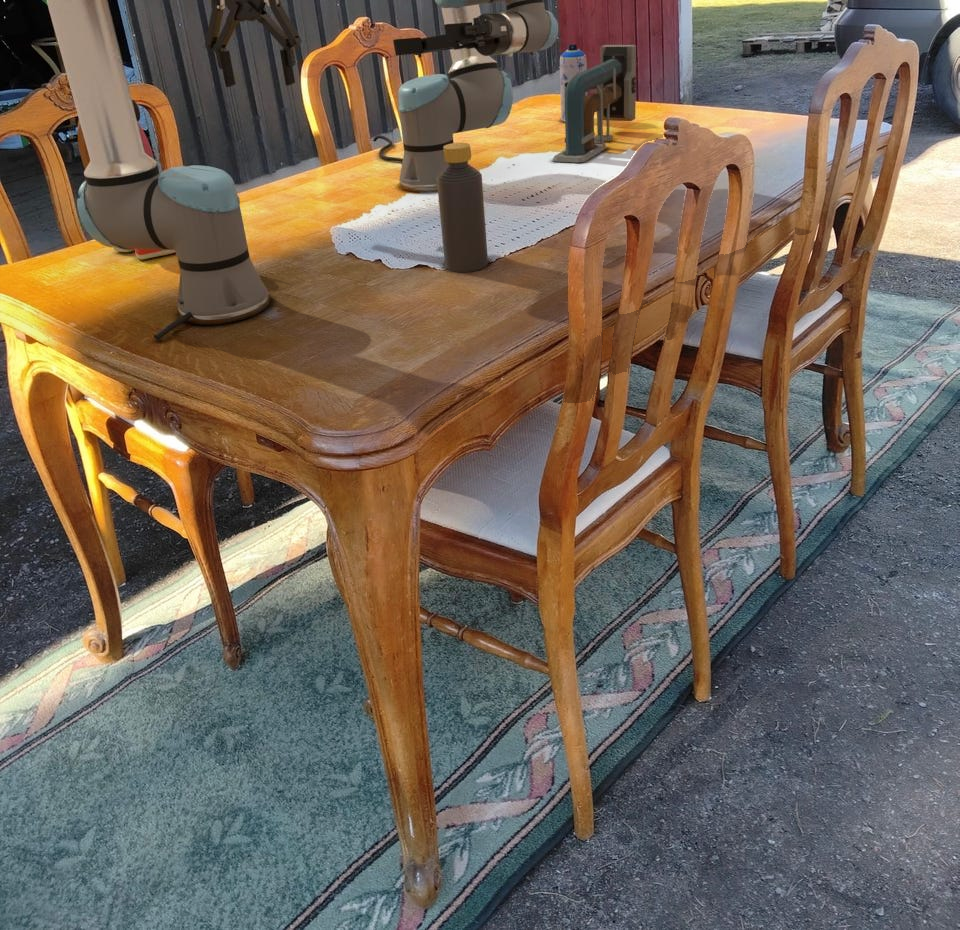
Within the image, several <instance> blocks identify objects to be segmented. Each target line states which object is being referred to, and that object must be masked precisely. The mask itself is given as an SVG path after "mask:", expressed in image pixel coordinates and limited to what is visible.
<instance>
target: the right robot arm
mask: <svg viewBox="0 0 960 930" xmlns="http://www.w3.org/2000/svg"><path fill="white" fill-rule="evenodd" d="M434 2H435V4H436V5H437V6H438V7H439V8H440V10H441V13H442V18H443V19H442V20H443V26H444V27H443V28H444V32H445V33H444V34H439V35H434V36H428V37H423V38H421V37H420V36H419V37H407V38H396V39H393V40H392V42H393V48H394V53H395V56H397V57H398V56H405V55H407V56H408V55H414V56H417V57H418V58H422V57H423V54H429V53H435V52H436V53H437V52H443V51H449V52H450V53H449V54H450V58H451V63H452V64H451V66H450V68H449V70H448V71H447V75H446V74H445V73H444V74H443V73H435V74H429V75H423V76H418V77H416V78H413V79H410V80H407V81H406V82H403V83H402V84H401V86H400V87H399V88H398V91H397V97H398V105H397V106H398V107H397V108H398V112H399V120H400V129H401V136H402V137H401V138H402V145H403V158H402V157H394V156H387V155H383V153H384V151H386V150H387V149H389V148H391V147H392V146H393V144H394V143H393V141H392V139H390V138H388V137H386V136H385V135H381V134H378V135H375V136H374V137H373V140H372V141H373V142H377V141H378V140H379V139H380V140H384V141H385V142H386V143H388V144H386V145H384V146H382V147H381V148H380V150H379V152H378V156H379V158H380V159H382V160H385V161H389V162H390V161H391V162H400V163H401V168H400V173H399V180H398V181H399V187H400V189H402V190H405V191H407V192H413V193H430V192H431V193H432V192H438V188H437V177H438V175H439V174H440V173H441V172H442V171H443V170H444V169H445V168H446V167H447V166H448V162H445V161H444V151H443V147H444V146H445V145H447V144H452V143H454V134H459V133H464V132H470V131H475V130H481V129H490V128H492V127H496V126H499V125H502V124H503V123H505V122H506V121H507V119H508V118H509V117H510V114H511V110H512V108H513V103H514V93H513V85H512V81H511V78H510V77H509V75H508V74H507V72H505V71H503V70H499V67H498V62H497V60H495V59H493V58H492V56H500V55H507V56H508V57H509V58H511V57H513V55H514V54H517V53H518V54H521V53H535V52H538V51H543V50H544V51H545V50H547V49H549V48H550V47H552V46H553V45H554V44H555V43H556V40H557V38H558V35H559V23H558V20H557V18H556V16H555V15H554V14H553V13H552V12H551V11H550V10H546V8H545V7H546V6H545V2H544V0H434ZM499 2H504V3H505V9H506V11H502V12H501V11H500V12H491V13H489V12H488V13H482V14H481V9H480V5H483V4H492V3H499Z"/></svg>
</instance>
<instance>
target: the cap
mask: <svg viewBox="0 0 960 930" xmlns="http://www.w3.org/2000/svg"><path fill="white" fill-rule="evenodd" d="M471 149H472V148H471V144H470V143H468V142H453V143H452V144H447V145H445V146H444V147H443V151H444V161H445V162H448V163H461V162H466V161H468V162H469V161H471V159H472V152H471V151H472V150H471Z"/></svg>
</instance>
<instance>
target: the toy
mask: <svg viewBox="0 0 960 930" xmlns="http://www.w3.org/2000/svg"><path fill="white" fill-rule="evenodd" d="M132 103H133V107H134V111H135V115H136V119H137V123H138V127H139V131H140V135H141V139H142V143H143V147H144V151H145V153H146V154H147V155H148V156H150V157H151V158H153V159H154V160H155V157H154V154H153V150H152V147H151V145H150V142H149V140H148V137H147V135H146V133H145V131H144V129H143V127H142V126H141V124H140V123H139V121H140V119H141V111H140V107H139V105H138V103H137V102H136V101H135V100H134V99H132ZM77 147H78V151H79V155H80V158H81V162H82V165H83V167H84V170H85V169H86V168H87V166H88V164H89V163H90V157H89V153H88V150H87V146H86V143H85V139H84V135H83V132H82V128H81V124H80V121H79V120H78V122H77ZM113 251H115V252H117V253H131V252H133V251H134V253H135V256H136V258H138V259H140V260H147V259H152V258H153V259H154V258H158V257H161V256H168V255H171V254H176V251H175V250H159V249H133V250H124V249H120V248H113Z"/></svg>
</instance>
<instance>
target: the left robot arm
mask: <svg viewBox="0 0 960 930" xmlns="http://www.w3.org/2000/svg"><path fill="white" fill-rule="evenodd" d="M46 4H47V7H48V12H49V15H50V19H51V22H52V26H53V29H54V33H55V37H56V40H57V44H58V47H59V51H60V54H61V55H60V56H61V58H62V63H63V66H64V69H65V73H66V77H67V80H68V85H69V87H70V91H71V96H72V98H73V101H74V106H75V109H76V113H77V116H78V121H80V124H81V128H82V132H83V135H84V139H85V143H86V146H87V150H88V153H89V157H90V163H89V164H88V166H87V168H86V169H85V168H84V171H83V176H84V179H85V180H84V181H83V182H82V183H81V185H80V186H79V189H78V193H77V194H78V196H79V198H77V199H76V205H77V211H78V212H77V213H78V215H79V219H80V221H81V224H82V226H83V228H84V229H85V231H86V232H87V233H88V235H89V236H90V237H91V238H92V239H93V240H95V241H96V242H97V243H99V244H100V245H102V246H105V247H108V248H113V249H114V248H120V249H124V250H133V249H159V250H175V251H176V253H175V254H176V258H177V262H178V266H179V283H178V294H177V310H178V314H179V318H177V319H176V320H174V321H173V322H172V323H170V324H168V325H167V326H165V327H164V328H162V329H161V330H160V331H158V332H156V333H155V334H153V337H154V339H155V340H156V341H159V340H160V339H162V338H164V336H166V335H168V334H169V333H170V332H172V331H173V330H174V329H176V328H178V327H180V326H181V325H182V324H183V323H185V322H186V323H189V324H193V325H202V326H203V325H204V326H205V325H206V326H210V325H222V324H230V323H233V322H239V321H241V320H245V319H248V318H251V317H253V316H256V315H258V314H260V312H263V311H264V310H265V309H266V308H267V307H268V306H269V305H270V296H269V291H268V289H267V287H266V284H265V283H264V282H263V280H262V278H261V276H260V274H259V272H258V270H257V269H256V267H255V265H254V264H253V262H252V260H251V257H250V251H249V246H248V241H247V236H246V232H245V226H244V225H245V224H244V220H243V216H242V210H241V206H240V204H241V199H240V196H239V194H238V191H237V188H236V184H235V181H234V179H233V177H232V176H231V175H230V174H229V173H227V171H225V170H223V169H221V168H217V167H214V166H208V165H198V164H197V165H195V164H194V165H187V166H185V165H180V166H173V167H169V168H166V169H164V170H162V171H161V172H160V170H159V165H158V161H157V160H156V159H155V158H154V159H153V158H151V157H150V156H148V155H147V154H146V153H145V151H144V147H143V143H142V139H141V135H140V131H139V127H138V123H139V122H138V121H137V119H136V115H135V111H134V107H133V103H132V100H133V99H132V95H131V91H130V87H129V83H128V79H127V74H126V70H125V67H124V63H123V59H122V58H123V57H122V54H121V50H120V46H119V42H118V38H117V34H116V30H115V26H114V22H113V17H112V13H111V9H110V6H109V1H108V0H46ZM210 4H211V5H210V6H211V14H210V17H209V23H208V27H207V33H206V38H205V43H204V47H205V49H206V50H211V51H214V53H215V57H216V62H217V66H218V68H219V70H222V75H223V79H224V85H225V88H230V87H233V86H235V85H236V79H235V73H234V69H233V63H232V58H231V53H230V50H227V48H226V47H227V46H228V44H229V41H230V39H231V37H232V35H233V33H234V31H235V29H236V27H237V25H238V23H240V22H246V21H248V22H254V21H257V22H258V23H260V24H261V25H262V26H263V27H264V28H265V29H266V31H267V32H268V33H269V34H270V35H271V36H272V37H273V38H274V39H275V40H276V41H277V43H278V45H280V46H281V47H282V48H281V49H279V53H280V59H281V64H282V65H281V66H282V71H283V77H284V83H285V86H291V85H294V84H295V83H296V80H295V79H296V78H295V73H294V66H296V56H295V49H294V48H295V47H296V46H298V45H301V44H302V37H301V36H300V35H299V33H298V31H297V30H296V28H295V26H294V25H293V22H292V21H291V19H290V18H289V15H288V14H287V12H286V11H285V9H284V7H283V5H282V1H281V0H210ZM266 5H267V7H268V8H270V10H271V13H272V14H273V16H274V17H275V19H276V21H277V22H278V24H277V23H276V22H275V20H274V19H273V18H272V16H271V14H270V13H269V12H268V11H267V9H265V6H266ZM225 8H227V9H228V11H229V12H228V14H227V16H226V18H225V23H224V25H223V27H222V29H221V25H222V22H223V21H222V20H223V15H224V10H225ZM220 30H221V31H220ZM137 122H138V123H137ZM133 251H134V250H133Z"/></svg>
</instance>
